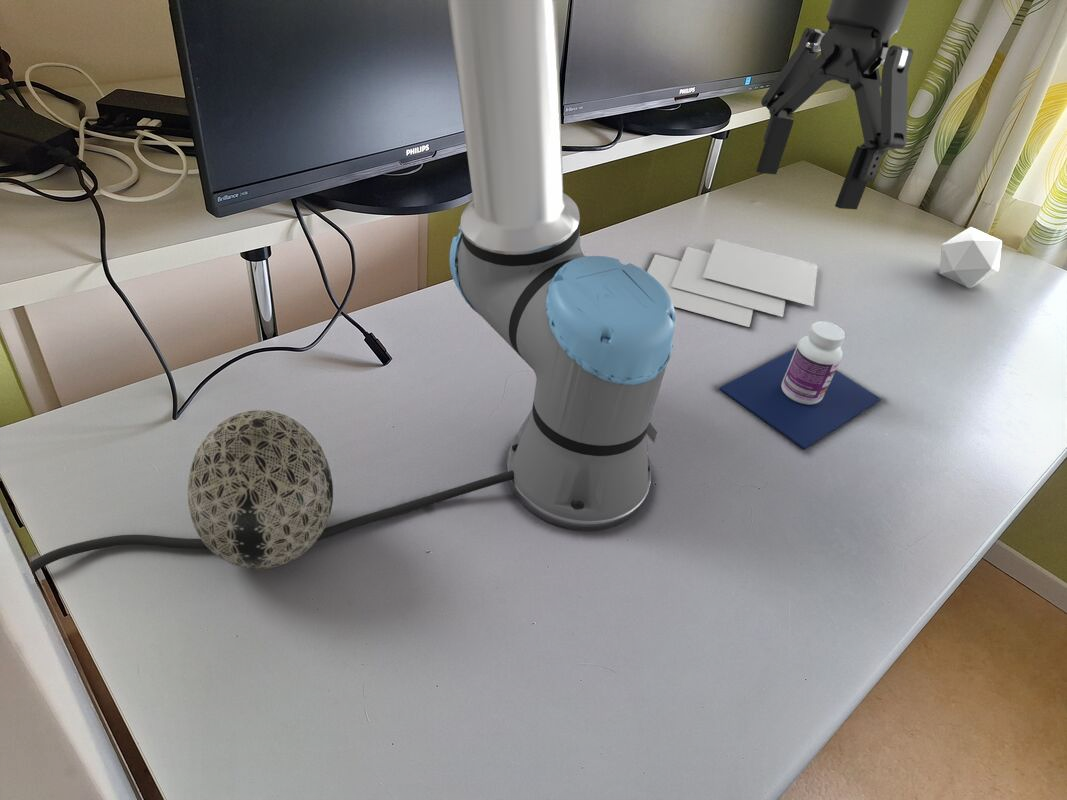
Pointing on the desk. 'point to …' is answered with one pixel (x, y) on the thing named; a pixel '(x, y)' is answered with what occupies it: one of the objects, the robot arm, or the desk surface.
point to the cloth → (791, 417)
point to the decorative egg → (259, 490)
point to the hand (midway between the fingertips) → (803, 189)
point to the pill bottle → (814, 363)
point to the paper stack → (734, 281)
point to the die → (970, 257)
